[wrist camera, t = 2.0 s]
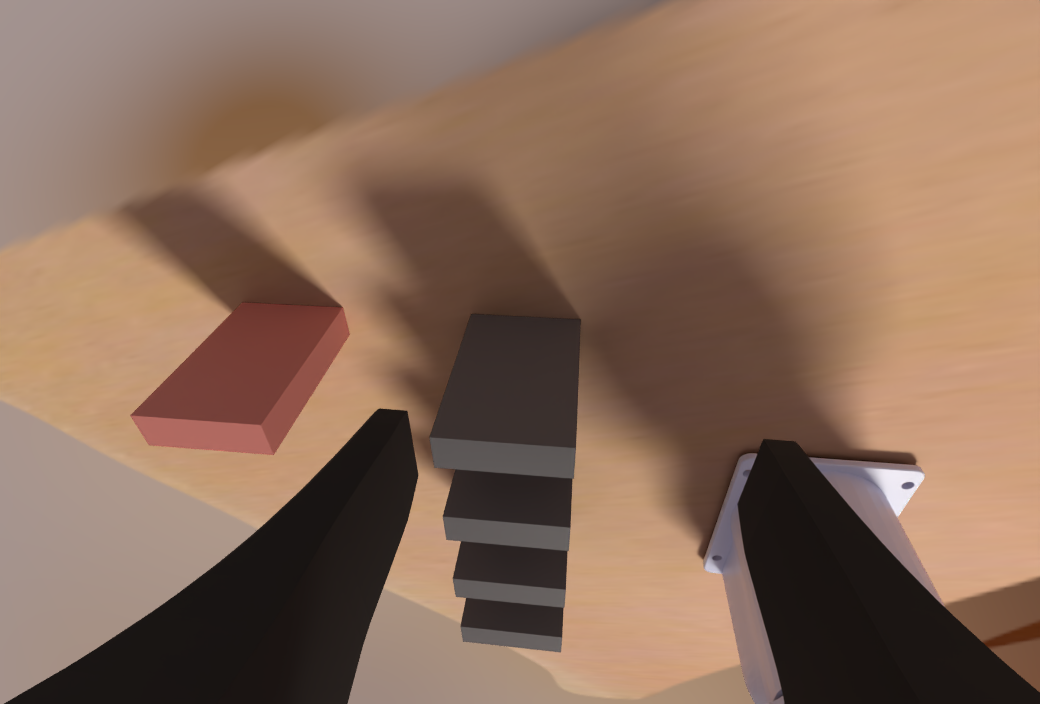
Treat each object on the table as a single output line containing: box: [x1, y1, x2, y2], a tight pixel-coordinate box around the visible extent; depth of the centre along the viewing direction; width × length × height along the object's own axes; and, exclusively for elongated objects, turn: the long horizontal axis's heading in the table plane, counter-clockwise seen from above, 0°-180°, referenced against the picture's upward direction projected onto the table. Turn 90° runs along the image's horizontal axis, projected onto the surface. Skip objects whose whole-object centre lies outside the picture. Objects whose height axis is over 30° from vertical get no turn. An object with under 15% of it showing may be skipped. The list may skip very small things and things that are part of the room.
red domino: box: [130, 302, 350, 455], centre depth 20 cm, size 1×4×7 cm, turn 90°
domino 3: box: [453, 541, 567, 608], centre depth 24 cm, size 1×4×7 cm, turn 90°
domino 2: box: [443, 469, 572, 551], centre depth 22 cm, size 1×4×7 cm, turn 91°
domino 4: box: [461, 598, 563, 652], centre depth 27 cm, size 1×4×7 cm, turn 91°
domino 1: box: [429, 314, 581, 479], centre depth 19 cm, size 1×4×7 cm, turn 91°
